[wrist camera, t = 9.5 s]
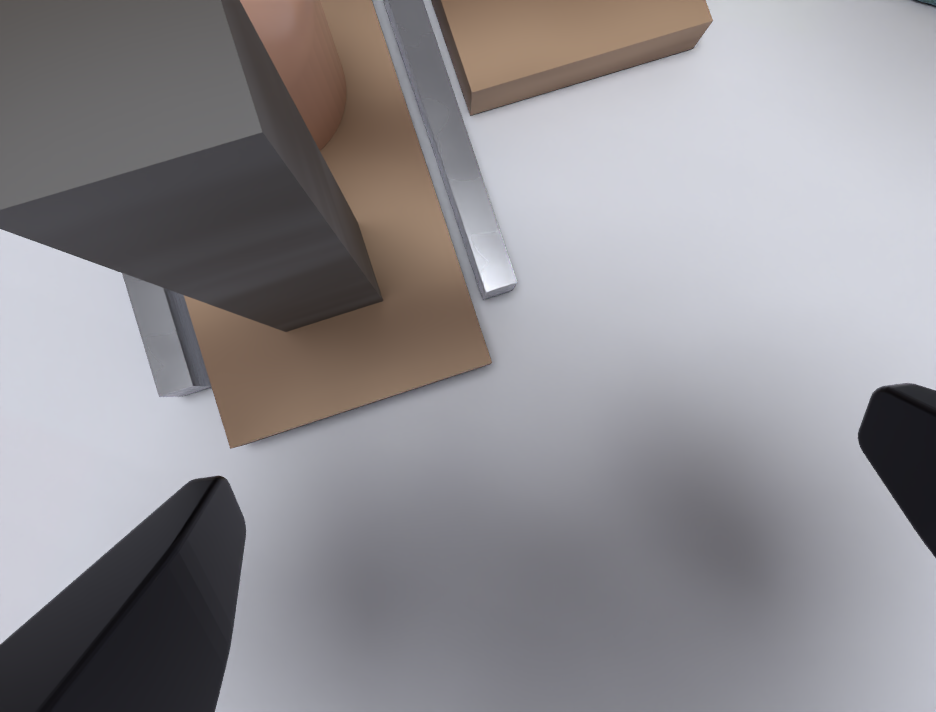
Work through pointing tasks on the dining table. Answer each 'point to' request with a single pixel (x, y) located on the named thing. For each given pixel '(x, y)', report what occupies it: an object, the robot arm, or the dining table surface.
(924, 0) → the cocktail glass
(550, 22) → the broken strip
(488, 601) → the dining table surface
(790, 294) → the dining table surface
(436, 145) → the lane rails
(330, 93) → the terracotta cylinder
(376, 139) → the tan wooden baseplate
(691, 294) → the dining table surface
